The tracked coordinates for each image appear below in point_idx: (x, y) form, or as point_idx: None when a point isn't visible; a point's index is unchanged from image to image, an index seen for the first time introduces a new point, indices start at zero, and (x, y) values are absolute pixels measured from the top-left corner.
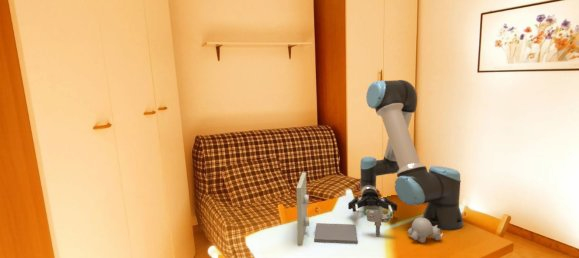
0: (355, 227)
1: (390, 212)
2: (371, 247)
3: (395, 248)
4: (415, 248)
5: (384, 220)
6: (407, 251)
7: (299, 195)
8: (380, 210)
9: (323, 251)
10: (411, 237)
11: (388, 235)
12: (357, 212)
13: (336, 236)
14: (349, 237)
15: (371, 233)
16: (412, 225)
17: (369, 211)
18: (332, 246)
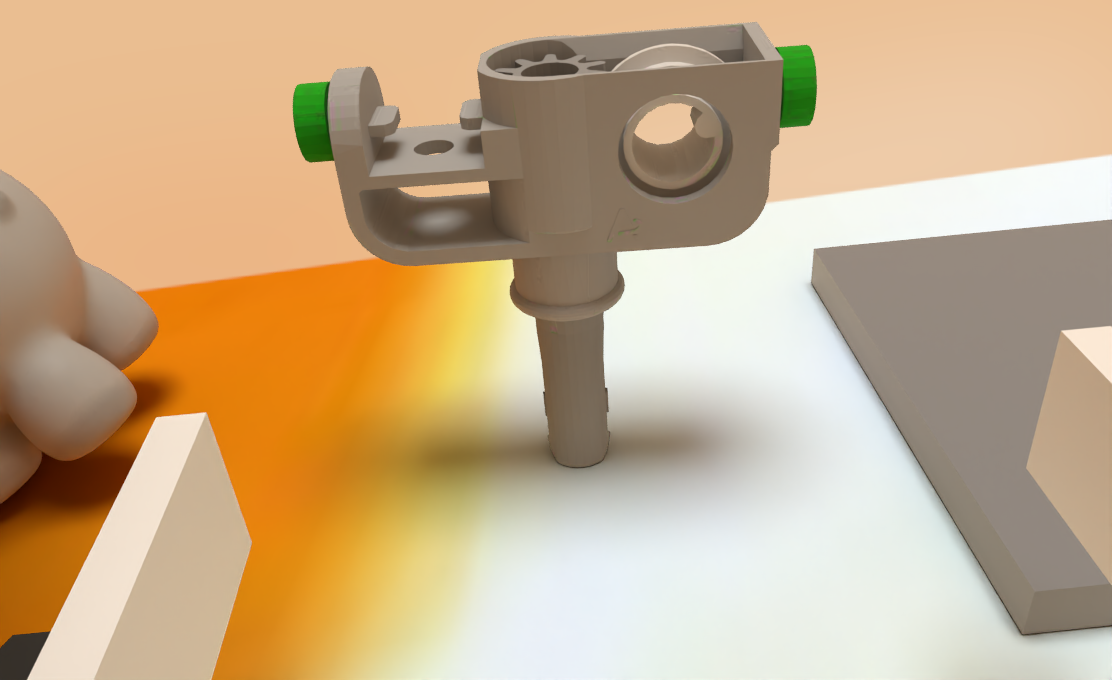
0: (980, 492)
1: (322, 84)
2: (651, 266)
3: (404, 291)
4: (191, 321)
5: (453, 214)
6: (300, 277)
7: None
8: (498, 78)
9: (1081, 167)
10: (156, 322)
11: (416, 487)
12: (1061, 380)
13: (1108, 267)
14: (935, 276)
15: (677, 493)
16: (54, 244)
17: (715, 93)
18: (1051, 219)
